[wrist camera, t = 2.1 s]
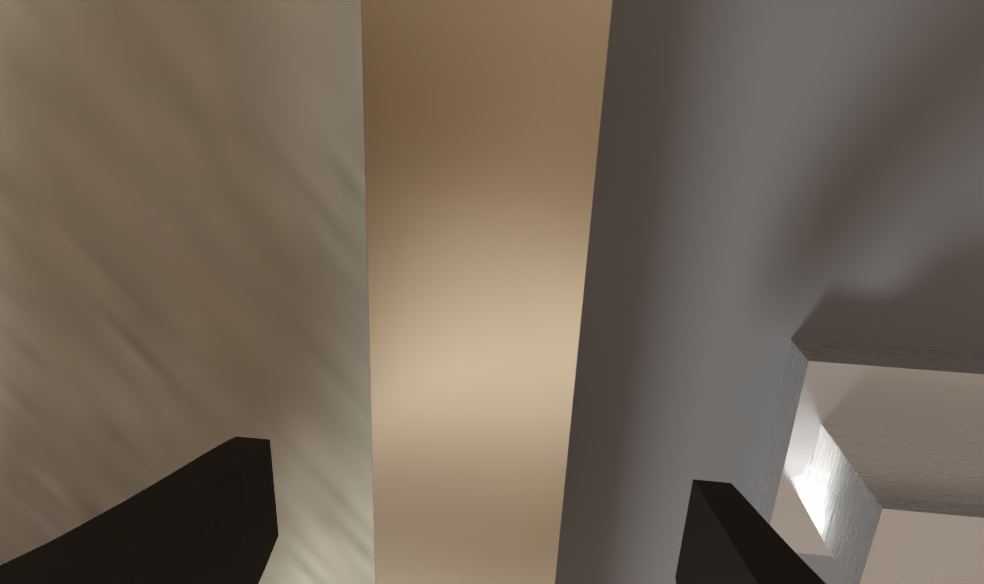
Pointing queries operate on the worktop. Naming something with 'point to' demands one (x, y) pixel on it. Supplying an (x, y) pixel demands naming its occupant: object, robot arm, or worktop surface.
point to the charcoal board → (759, 240)
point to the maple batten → (476, 275)
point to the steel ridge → (879, 461)
